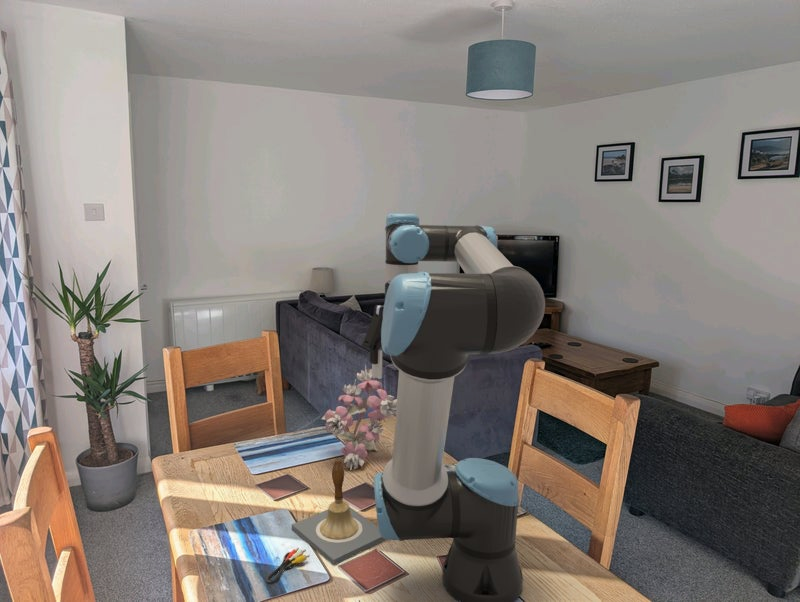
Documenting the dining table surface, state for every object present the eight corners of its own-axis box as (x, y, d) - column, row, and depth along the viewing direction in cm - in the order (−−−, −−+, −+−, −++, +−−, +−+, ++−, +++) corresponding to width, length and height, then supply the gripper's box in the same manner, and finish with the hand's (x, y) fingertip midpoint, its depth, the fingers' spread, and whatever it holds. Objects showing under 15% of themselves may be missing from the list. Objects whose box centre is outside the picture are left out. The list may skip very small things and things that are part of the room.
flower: (293, 447, 161) (311, 382, 148) (350, 417, 177) (371, 357, 164) (339, 497, 151) (363, 432, 139) (394, 461, 168) (420, 400, 155)
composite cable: (272, 587, 106) (271, 575, 105) (256, 576, 109) (255, 565, 108) (311, 562, 114) (311, 551, 113) (295, 552, 116) (295, 541, 116)
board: (387, 538, 121) (387, 533, 121) (333, 565, 112) (333, 559, 112) (343, 507, 133) (343, 502, 133) (291, 529, 124) (291, 523, 124)
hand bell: (337, 544, 117) (336, 472, 114) (311, 528, 122) (311, 459, 119) (366, 528, 123) (366, 459, 120) (341, 513, 128) (341, 447, 125)
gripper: (429, 276, 140) (426, 358, 144) (347, 284, 124) (346, 377, 127) (451, 279, 134) (447, 365, 138) (368, 289, 118) (367, 386, 122)
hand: (399, 371), depth 133 cm, fingers open, 13 cm apart
